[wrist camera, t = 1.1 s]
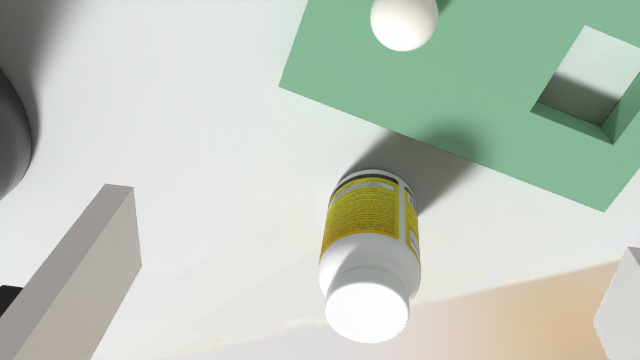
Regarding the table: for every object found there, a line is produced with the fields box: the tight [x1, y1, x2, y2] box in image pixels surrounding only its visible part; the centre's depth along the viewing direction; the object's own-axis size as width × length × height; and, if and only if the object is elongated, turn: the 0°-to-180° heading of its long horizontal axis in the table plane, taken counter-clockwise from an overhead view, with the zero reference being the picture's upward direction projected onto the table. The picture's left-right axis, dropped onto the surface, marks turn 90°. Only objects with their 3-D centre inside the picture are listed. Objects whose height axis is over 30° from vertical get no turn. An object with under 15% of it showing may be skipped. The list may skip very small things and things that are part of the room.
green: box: [279, 0, 640, 212], centre depth 33 cm, size 22×14×2 cm, turn 70°
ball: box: [370, 0, 438, 51], centre depth 29 cm, size 4×4×4 cm
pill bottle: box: [318, 169, 421, 343], centre depth 36 cm, size 6×6×11 cm
